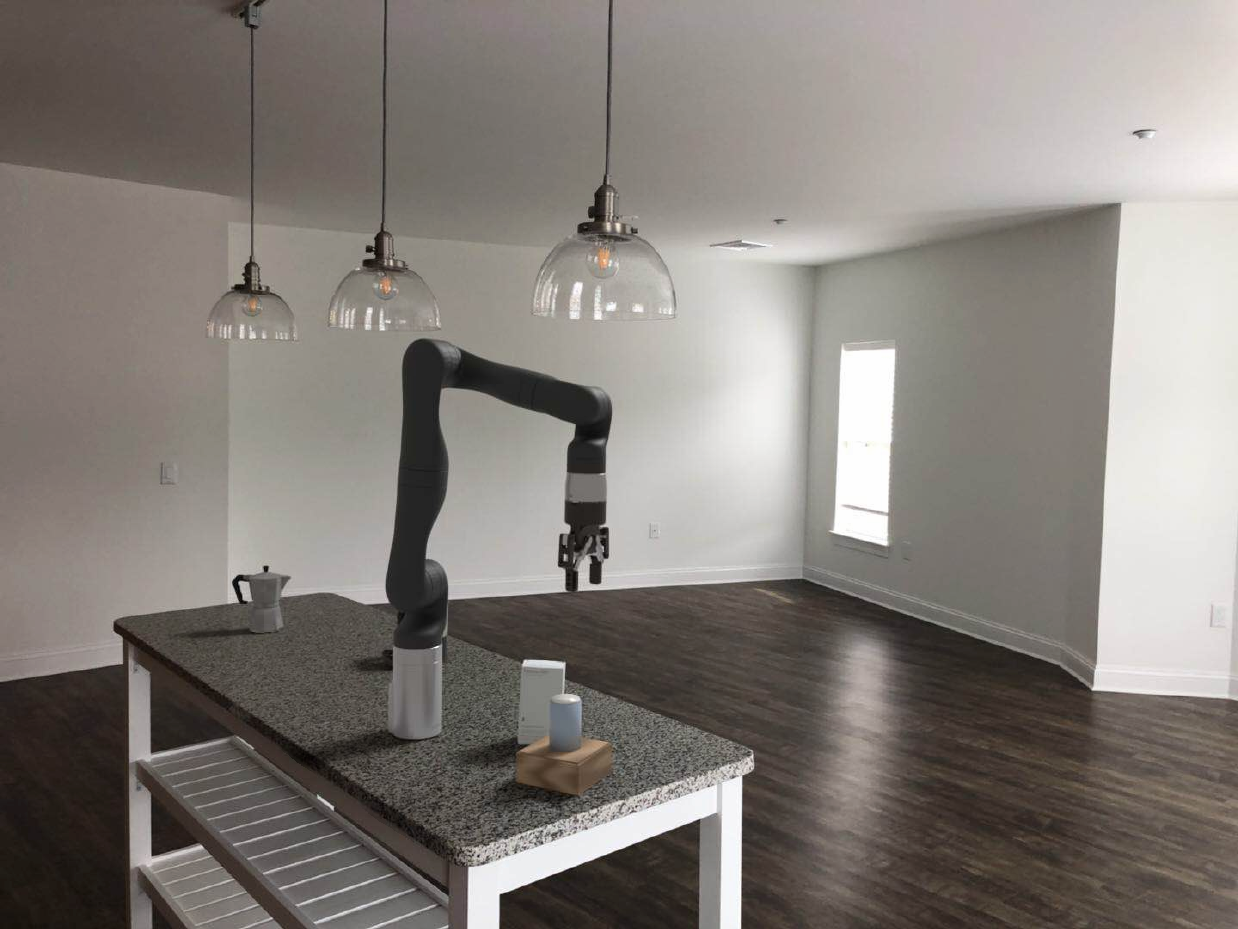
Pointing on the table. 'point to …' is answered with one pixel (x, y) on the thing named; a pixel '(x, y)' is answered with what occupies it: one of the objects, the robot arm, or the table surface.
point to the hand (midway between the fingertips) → (583, 587)
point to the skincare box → (538, 697)
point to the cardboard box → (564, 765)
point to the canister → (565, 723)
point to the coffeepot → (263, 598)
